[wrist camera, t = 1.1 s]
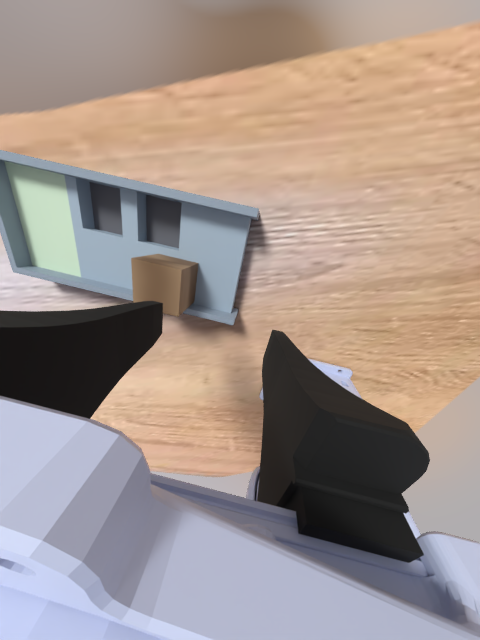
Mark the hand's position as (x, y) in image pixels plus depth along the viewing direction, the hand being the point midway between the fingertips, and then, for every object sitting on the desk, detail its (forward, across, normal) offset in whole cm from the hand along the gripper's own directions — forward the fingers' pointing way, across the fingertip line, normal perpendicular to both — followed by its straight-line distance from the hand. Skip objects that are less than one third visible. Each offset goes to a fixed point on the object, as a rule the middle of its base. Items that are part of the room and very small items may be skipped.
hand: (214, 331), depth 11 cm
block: (+8, +6, 0) cm, 10 cm away
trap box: (+10, +11, -2) cm, 15 cm away
